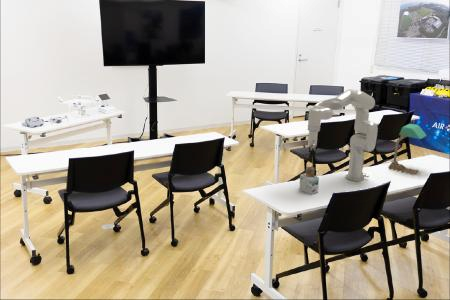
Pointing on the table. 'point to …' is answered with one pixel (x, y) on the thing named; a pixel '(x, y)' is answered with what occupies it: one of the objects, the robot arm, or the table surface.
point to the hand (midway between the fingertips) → (311, 154)
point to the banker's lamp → (406, 131)
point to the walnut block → (309, 171)
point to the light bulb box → (309, 184)
